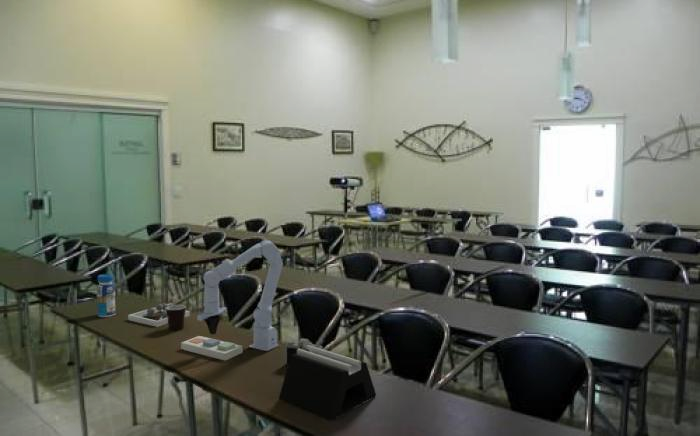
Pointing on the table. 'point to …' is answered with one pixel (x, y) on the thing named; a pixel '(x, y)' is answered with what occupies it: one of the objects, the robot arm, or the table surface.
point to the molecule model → (158, 307)
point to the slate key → (211, 342)
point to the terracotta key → (197, 340)
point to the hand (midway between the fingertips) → (212, 333)
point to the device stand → (326, 382)
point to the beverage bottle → (106, 296)
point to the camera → (297, 347)
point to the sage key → (226, 346)
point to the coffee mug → (176, 317)
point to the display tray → (139, 318)
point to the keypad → (211, 349)
